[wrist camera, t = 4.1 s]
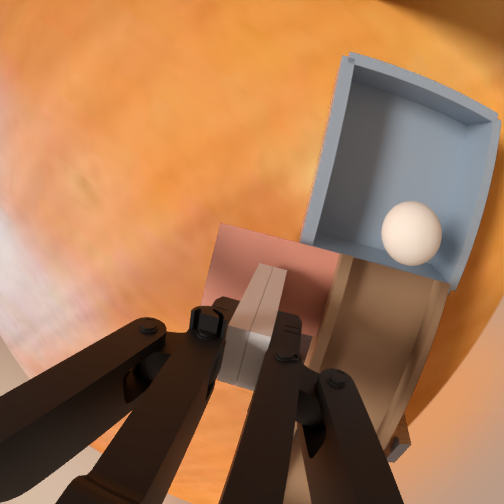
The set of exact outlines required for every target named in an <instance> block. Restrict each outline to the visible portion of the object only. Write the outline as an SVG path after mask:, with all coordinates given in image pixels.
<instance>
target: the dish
mask: <svg viewBox="0 0 504 504" xmlns="http://www.w3.org/2000/svg"><path fill="white" fill-rule="evenodd" d="M497 117H498V113H496V112H495V111H493V110H491V109H489V108H488V107H486V106H484V105H482V104H480V103H479V102H477V101H475V100H473V99H471V98H469V97H467V96H465V95H463V94H461V93H459V92H457V91H455V90H453V89H451V88H449V87H447V86H444V85H442V84H440V83H438V82H435V81H433V80H431V79H428V78H426V77H424V76H421V75H419V74H416V73H414V72H411V71H408V70H406V69H403V68H400V67H398V66H395V65H392V64H389V63H386V62H383V61H380V60H377V59H374V58H370V57H367V56H364V55H360V54H357V53H353V52H350V53H349V55H348V57H347V56H343V55H342V58H341V61H340V65H339V68H338V71H337V75H336V80H335V85H334V90H333V94H332V99H331V104H330V109H329V114H328V118H327V123H326V127H325V132H324V136H323V141H322V145H321V150H320V154H319V158H318V163H317V167H316V171H315V175H314V180H313V184H312V188H311V192H310V196H309V200H308V204H307V208H306V212H305V216H304V220H303V224H302V228H301V232H300V239H299V243H302V244H305V245H309V246H313V247H317V248H321V249H324V250H328V251H332V252H336V253H339V254H345V255H349V256H353V257H354V258H358V259H362V260H365V261H369V262H373V263H376V264H380V265H383V266H387V267H391V268H394V269H398V270H401V271H405V272H409V273H412V274H416V275H419V276H423V277H426V278H430V279H433V280H437V281H442V282H446V283H449V284H450V287H449V291H448V295H449V294H450V291H451V290H453V291H456V288H457V286H458V284H459V281H460V279H461V276H462V274H463V271H464V269H465V266H466V263H467V261H468V258H469V255H470V252H471V249H472V247H473V244H474V241H475V238H476V235H477V231H478V228H479V225H480V222H481V218H482V215H483V211H484V208H485V204H486V200H487V196H488V192H489V188H490V184H491V180H492V175H493V170H494V165H495V160H496V155H497V149H498V143H499V136H500V129H501V121H500V120H499V119H497ZM406 201H416V202H420V203H423V204H425V205H427V206H428V207H429V208H431V209H432V210H433V211H434V213H435V214H436V215H437V217H438V219H439V221H440V224H441V229H442V239H441V243H440V247H439V249H438V251H437V252H436V254H435V255H434V256H433V257H432V258H431V259H430V260H429V261H427V262H425V263H423V264H421V265H416V266H407V265H403V264H401V263H399V262H397V261H395V260H394V259H393V258H392V257H391V256H390V255H389V254H388V253H387V251H386V249H385V247H384V245H383V241H382V235H381V231H382V224H383V221H384V219H385V217H386V215H387V214H388V212H389V211H390V210H391V209H392V208H393V207H394V206H396V205H398V204H400V203H402V202H406Z"/></svg>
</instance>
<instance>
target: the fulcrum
mask: <svg viewBox="0 0 504 504" xmlns="http://www.w3.org/2000/svg"><path fill="white" fill-rule="evenodd" d="M312 338H313V336H310V335H306V334H302V333H301V343H300V353H299V354H300V355H301V358H302V362H303V364H304V363H305V360H306V357H307V354H308V350H309V347H310V344H311V341H312ZM410 445H411V441H410V437H409V432H408V428H407V424H406V420H405V416H404V413H403V415H402V417H401V419H400V421H399V423H398V425H397V427H396V429H395V431H394V433H393V435H392V436H391V438H390V440H389V444H388V446H387V448H386V449H385V450H384V454H385V456H386V459H387V461H388V462H395V461H396V460H397V459H398V458H399V457H400V456H401V455H402V454H403V453H404V452H405V451H406V450H407V448H408V447H409V446H410Z"/></svg>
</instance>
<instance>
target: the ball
mask: <svg viewBox="0 0 504 504" xmlns="http://www.w3.org/2000/svg"><path fill="white" fill-rule="evenodd" d="M381 235H382V241H383V245H384V247H385V249H386V251H387V253H388V254H389V255H390V256H391V257H392V258H393V259H394V260H395V261H397V262H399V263H401V264H403V265H407V266H416V265H421V264H423V263H425V262H427V261H429V260H430V259H431V258H432V257H433V256H434V255H435V254H436V252H437V251H438V249H439V247H440V243H441V239H442V229H441V224H440V221H439V219H438V217H437V215H436V214H435V213H434V211H433V210H432V209H431V208H429V207H428V206H427V205H425V204H423V203H420V202H416V201H406V202H402V203H400V204H398V205H396V206H394V207H393V208H392V209H391V210H390V211H389V212H388V214H387V215H386V217H385V219H384V221H383V224H382V231H381Z"/></svg>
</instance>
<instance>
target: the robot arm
mask: <svg viewBox="0 0 504 504" xmlns="http://www.w3.org/2000/svg"><path fill="white" fill-rule="evenodd" d="M286 273H287V270H284V269H281V268H277V267H273V266H269V265H265V264H261V263H259V265H258V267H257V269H256V271H255V273H254V275H253V277H252V279H251V281H250V283H249V285H248V287H247V289H246V291H245V293H244V295H243V297H242V299H241V301H239V300H235V299H232V298H228V297H225V296H222V297H220V298H218V299H216V300H215V301H214V303H213V304H212V306H198V307H195V308H194V309H192V310H191V317H190V325H189V330H188V331H187V332H185V333H175V332H167V331H166V326H165V324H164V323H163V322H161V321H160V320H157V319H155V318H149V317H145V318H139V319H136V320H134V321H133V322H131V323H129V324H127V325H125V326H124V327H122V328H120V329H118V330H117V331H115V332H113V333H111V334H110V335H108V336H106V337H104V338H103V339H101V340H99V341H97V342H96V343H94V344H92V345H90V346H89V347H87V348H85V349H83V350H81V351H80V352H78V353H76V354H74V355H73V356H71V357H69V358H67V359H66V360H64V361H62V362H60V363H59V364H57V365H55V366H53V367H51V368H50V369H48V370H46V371H44V372H43V373H41V374H39V375H37V376H36V377H34V378H32V379H30V380H29V381H27V382H25V383H23V384H22V385H20V386H18V387H16V388H14V389H13V390H11V391H9V392H7V393H6V394H4V395H2V396H0V502H5V501H8V500H11V499H13V498H16V497H18V496H20V495H22V494H23V493H25V492H27V491H28V490H30V489H31V488H33V487H34V486H35V485H37V484H38V483H40V482H41V481H42V480H44V479H45V478H46V477H48V476H49V475H50V474H52V473H53V472H55V471H56V470H57V469H59V468H60V467H61V466H62V465H64V464H65V463H66V462H68V461H69V460H70V459H72V458H73V457H74V456H76V455H77V454H78V453H79V452H81V451H82V450H83V449H85V448H86V447H87V446H88V445H90V444H91V443H92V442H94V441H95V440H96V439H97V438H99V437H100V436H101V435H102V434H104V433H105V432H106V431H107V430H109V429H110V428H111V427H112V426H114V425H115V424H116V423H117V422H118V421H120V420H121V419H122V418H123V417H125V416H126V415H127V414H128V413H129V412H131V411H132V412H131V413H130V415H129V416H128V418H127V419H126V420H125V422H124V423H123V425H122V426H121V428H120V429H119V431H118V432H117V434H116V435H115V437H114V438H113V439H112V441H111V442H110V444H109V445H108V447H107V448H106V450H105V451H104V453H103V454H102V456H101V457H100V458H99V460H98V461H97V463H96V464H95V466H94V467H93V469H92V470H91V471H90V472H89V473H88V474H87V475H84V476H78V477H76V478H75V479H73V480H72V482H71V483H70V484H69V485H68V486H67V488H66V489H65V491H64V492H63V493H62V495H61V496H60V498H59V499H58V501H57V502H56V503H55V504H162V503H163V501H164V498H165V496H166V494H167V492H168V490H169V488H170V486H171V483H172V481H173V479H174V477H175V475H176V472H177V470H178V468H179V466H180V464H181V461H182V459H183V457H184V455H185V453H186V450H187V448H188V446H189V444H190V442H191V439H192V437H193V435H194V433H195V430H196V428H197V426H198V424H199V421H200V419H201V417H202V415H203V412H204V410H205V408H206V406H207V403H208V401H209V399H210V396H211V394H212V392H213V390H214V385H215V380H216V378H217V376H218V378H217V380H219V381H222V382H225V383H229V384H232V385H235V386H239V387H242V388H246V389H250V390H253V391H254V393H253V396H252V399H251V402H250V405H249V408H248V411H247V416H246V419H245V422H244V426H243V429H242V432H241V435H240V439H239V442H238V445H237V448H236V451H235V455H234V458H233V461H232V464H231V467H230V470H229V473H228V476H227V479H226V482H225V485H224V488H223V491H222V494H221V497H220V500H219V503H218V504H283V501H284V495H285V489H286V483H287V477H288V470H289V464H290V457H291V450H292V443H293V436H294V428H295V421H296V422H297V430H298V435H299V440H300V445H301V450H302V456H303V461H304V466H305V471H306V477H307V482H308V487H309V492H310V498H311V503H312V504H404V503H403V500H402V497H401V495H400V492H399V489H398V487H397V484H396V481H395V479H394V476H393V474H392V472H391V469H390V466H389V464H388V461H387V459H386V456H385V454H384V451H383V449H382V446H381V444H380V441H379V439H378V436H377V434H376V431H375V429H374V427H373V424H372V422H371V419H370V417H369V415H368V412H367V410H366V408H365V405H364V403H363V401H362V398H361V396H360V394H359V391H358V389H357V387H356V384H355V382H354V380H353V379H352V377H351V376H350V375H349V374H347V373H346V372H344V371H342V370H339V369H334V368H329V369H325V370H323V371H322V372H321V373H317V372H315V371H313V370H311V369H309V368H308V367H307V366H305V365H304V364H303V362H302V358H301V355H300V354H299V353H300V343H301V332H302V321H301V319H300V318H299V316H298V315H294V314H290V313H286V312H283V311H279V310H278V307H279V303H280V299H281V295H282V290H283V286H284V282H285V277H286ZM236 383H237V384H236Z"/></svg>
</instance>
